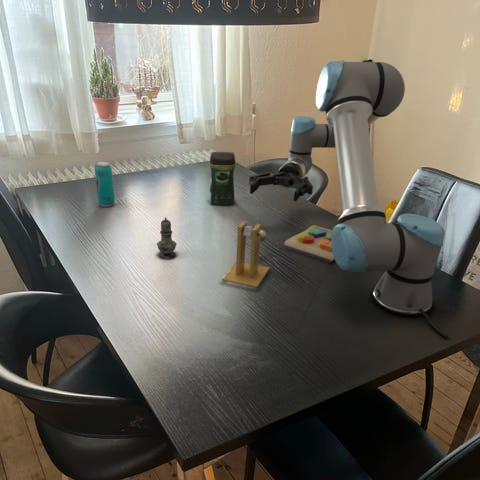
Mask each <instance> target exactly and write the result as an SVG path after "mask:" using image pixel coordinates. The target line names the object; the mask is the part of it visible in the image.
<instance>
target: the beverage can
mask: <svg viewBox="0 0 480 480" xmlns="http://www.w3.org/2000/svg"><path fill="white" fill-rule="evenodd" d="M94 177H95V185H96V192H97V201H98V203H99V205H100V206H101V207H105V208H109V207H112V206H114V203H115V189H114V179H113V169H112V165H111V162H110V161H106V160H99V161H96V162H94Z"/></svg>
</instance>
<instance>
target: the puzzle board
mask: <svg viewBox="0 0 480 480" xmlns="http://www.w3.org/2000/svg"><path fill="white" fill-rule="evenodd" d="M332 231H333V229H328V228H325V227H321V226H318V225H311V226H309V227H308V228H307V229H306V230H304V231H302V232H300V233H297V234H295V235H293V236H292V237H290V238H288V239H286V240H285V241H284V243H283V245H284V246H287V247H290V248H293V249H296V250H299V251H302V252H305V253H308V254H312V255H314V256H316V257H317V256H318V257H321V258H324V259H325V260H329V261H328V263H332V262H334V261H335V259H334V256H333V253H332V248H331V240H332V237H331V234H332Z"/></svg>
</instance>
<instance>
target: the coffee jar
mask: <svg viewBox="0 0 480 480" xmlns="http://www.w3.org/2000/svg"><path fill="white" fill-rule="evenodd" d="M236 164H237V163H236V155H235V153H234V152H233V151H211V153H210V157H209V162H208V166H209V168H210V182H209V183H210V184H209V192H208V193H209V195H208V201H209V203H210V204H212V205H218V206H229V205H232V204H234V203H235V197H236V196H235V185H234V184H235V183H234V170H235V168H236Z"/></svg>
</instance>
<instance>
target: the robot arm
mask: <svg viewBox="0 0 480 480" xmlns="http://www.w3.org/2000/svg"><path fill="white" fill-rule="evenodd" d="M405 93H406V86H405V81H404V78H403V76H402V73H401V72H400V71H399V70H398V69H397V68H396V67H395V66H393V65H392V64H390V63H388V62H383V61H376V62H375V61H345V60H343V59H342V60H333V61H328V62H327V63H326V64H325V65H324V66H323V68H322V70H321V72H320V75H319V77H318V82H317V87H316V92H315V106H316V109H317V110H318V112H321V113H324V112H325V118H326V122H327V123H316V119H315V118H314V117H311V116H305V115H304V116H303V115H301V116H300V115H299V116H296V117H294V118H293V120H292V123H291V130H290V140H289V151H288V160H287V161H286V162H285V163H284V164H283V165H282V166H281V167H279V170H278V171H277V172H275V173H272V170H267V171H264V172H262V173H258V174H254V175H249V176H248V177H249V179H248V185H249V186H250V187H249V194H250V195H254V193H255V192H256V191H257V190H258V189H259V188H260V187H262V186H269V185H273V186H282V187H284V188H287V189H294V190H295V191H294V193H293V202H297V201H298V199H299V198H300V197H303V196H305V195H308V196H312V195H313V188H314V186H313V184H312V183H311V182H310V180H309V176H306V175H307V174H308V173H309V172H310V170H311V169H312V166H313V158H312V150H313V149H315V148H319V149H322V148H323V149H324V148H326V149H327V148H328V149H335V154H336V164H337V165H336V166H337V173H338V183H339V192H340V201H341V208H342V214H341V215H340V216H339V217H338V219H337V225H335V226H334V227H333V229H332V234H331V237H332V240H331V248H332V253H333V256H334V261H335V263H336V265H337V266H338V267H339V269H341V270H342V271H344V272H348V273H350V272H351V273H360V274H361V273H364V272H381V271H383V272H384V273H383V275H382V276H381V277H380V279H379V280H378V282H377V284H376V285H375V287H374V289H373V291H372V299H373V302H374V303H375V304H376V305H377V306H378V307H379V308H380V309H382V310H384V311H386V312H389V313H391V314H393V315H398V316H403V317H420V316H423V317H424V318H425V319H426V321H427V322H428V323H429V326H431V327H432V328H433V330H434V331H436V332H437V333H438V334H440V335H441V336H442V337H443V338H445V339H447V338H448V334H446V333H445V332H443V330H441V329H439V328H438V327H437V326H436V325H435V323H433V321H432V320H431V318H430V317H429V316H428V313H429V312H430V311H431V308H432V306H433V299H434V298H433V288H432V287H433V286H432V279H433V277H434V274H435V270H436V266H437V263H438V261H439V257H440V254H441V251H442V247H444V239H445V236H446V231H445V228H444V227H443V225H442V224H440V223H439V222H437V221H436V220H434V219H432V218H429V217H427V216H424V215H420V214H416V213H402V214H399V216H398V217H397V219H396V222H387V217H386V216H387V215H386V212H385V211H384V210H382V209H381V208H379V204H378V203H379V202H378V195H377V187H376V179H375V171H374V163H373V155H372V153H373V152H372V146H371V144H372V143H371V136H370V130H369V126H371V125H372V124H373V123H374V122H376V121H377V120H378V119H379V118H385V117H387V116H389V115H391V114H392V113H393V112H395V110H396V109H397V108H399V106H400V105H401V104H402V102H403V99H404V97H405Z"/></svg>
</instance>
